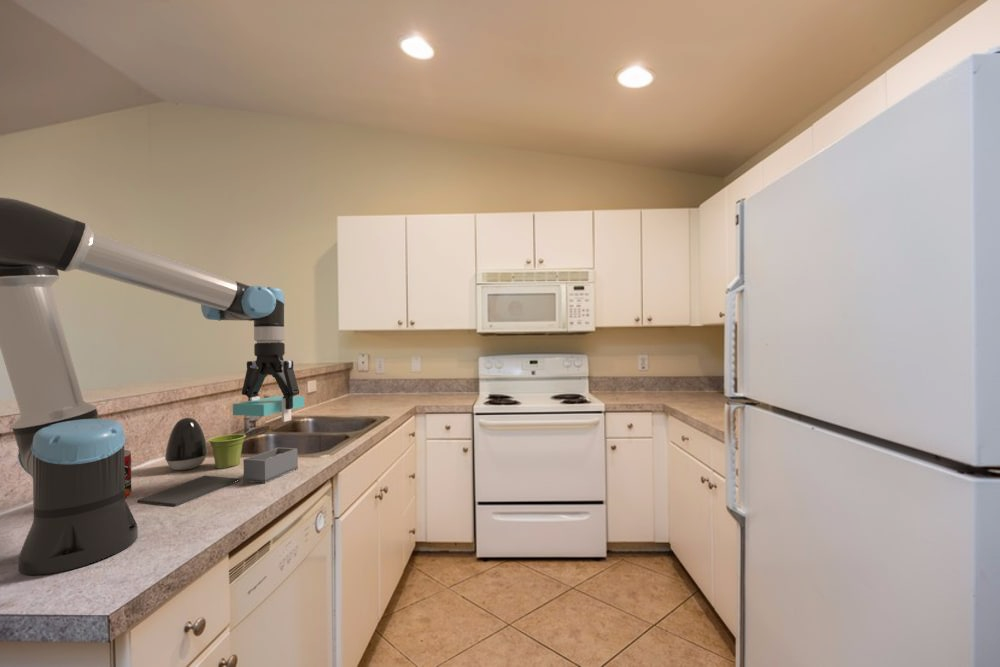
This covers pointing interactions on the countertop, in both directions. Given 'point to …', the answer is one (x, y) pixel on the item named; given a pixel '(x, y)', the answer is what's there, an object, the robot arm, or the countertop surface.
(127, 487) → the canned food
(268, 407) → the lid
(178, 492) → the mat
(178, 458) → the black egg-shaped piece
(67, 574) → the countertop surface
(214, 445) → the plant pot
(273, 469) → the storage box
